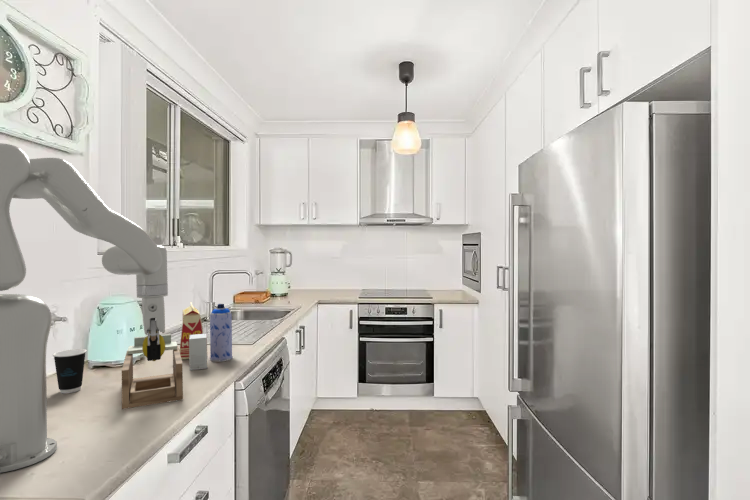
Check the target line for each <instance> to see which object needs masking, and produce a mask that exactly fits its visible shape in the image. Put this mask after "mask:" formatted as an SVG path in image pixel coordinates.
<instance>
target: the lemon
mask: <svg viewBox="0 0 750 500" xmlns="http://www.w3.org/2000/svg"><path fill="white" fill-rule="evenodd" d="M161 335H162V334H160V333H159V344H160V346H161V357H162V356H163V355H164V353H165V352H166V350H165V341H164V338H163V337H162V336H161ZM146 336H147V337H146V338H145V339H144V341H143V346H142V349H143V353H142V354H143V355H144V356H145V358H147V346H148V335H146ZM150 337H151V336H150ZM156 361H157V360H152V362H156Z"/></svg>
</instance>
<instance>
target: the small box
mask: <svg viewBox="0 0 750 500" xmlns="http://www.w3.org/2000/svg"><path fill="white" fill-rule="evenodd" d="M188 363H189V364H188V365H189V371H196V370H205V369H208V336H207V333H203V334H195V335H190V338H189V359H188Z"/></svg>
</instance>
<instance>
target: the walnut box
mask: <svg viewBox="0 0 750 500" xmlns="http://www.w3.org/2000/svg"><path fill="white" fill-rule="evenodd" d="M179 349H180V346H179V345H178V344H177V349H175V350H172V369H173V370H172V373H167V374H158V375H151V376H150V375H149V376H142V377H136V378H135V377H134V354H128V350H126V353H125V357H124V360H123V363H122V368H121V410H126V409H131V408H138V407H139V408H140V407H142V406H143V407H144V406H150V405H156V404H157V405H158V404H164V403H169V401H171V402H177V401H182V400H181V399H184V390H183V389H184V386H183V384H184V381H183V377H184V376H183V359H181V355H180V351H179ZM176 400H177V401H176Z"/></svg>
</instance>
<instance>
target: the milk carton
mask: <svg viewBox="0 0 750 500" xmlns="http://www.w3.org/2000/svg"><path fill="white" fill-rule="evenodd" d="M200 313H201V312H200V311H199V309H197V308H196V307H195V306H194V305H193V302H192V301H190V305H189V306H187V307H186V308H184V309H182V325H181V333H180V342H179V351H180V355H181V359H182V360H189V338H190V335H195V334H204V328H203V323H202V318H201V314H200Z"/></svg>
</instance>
